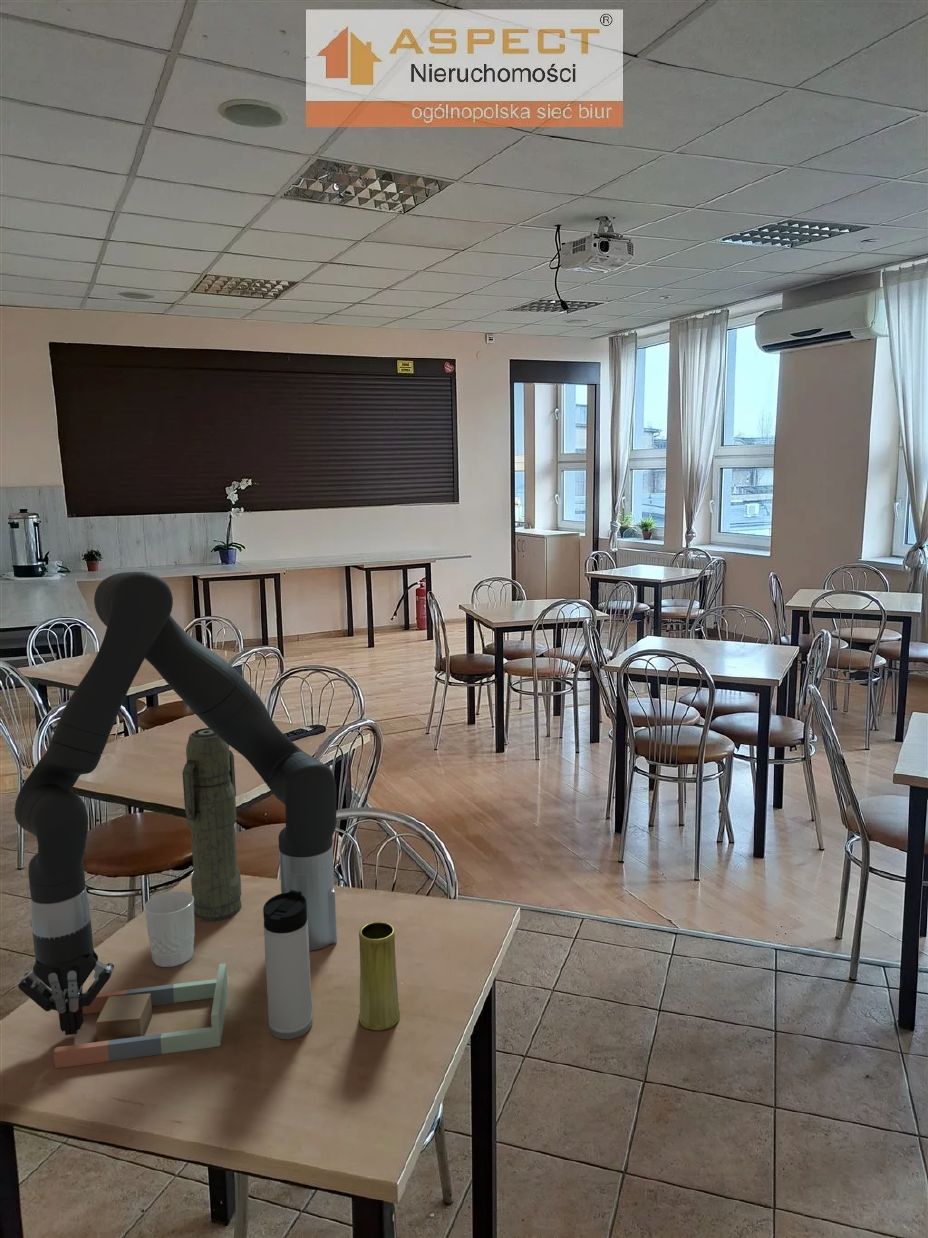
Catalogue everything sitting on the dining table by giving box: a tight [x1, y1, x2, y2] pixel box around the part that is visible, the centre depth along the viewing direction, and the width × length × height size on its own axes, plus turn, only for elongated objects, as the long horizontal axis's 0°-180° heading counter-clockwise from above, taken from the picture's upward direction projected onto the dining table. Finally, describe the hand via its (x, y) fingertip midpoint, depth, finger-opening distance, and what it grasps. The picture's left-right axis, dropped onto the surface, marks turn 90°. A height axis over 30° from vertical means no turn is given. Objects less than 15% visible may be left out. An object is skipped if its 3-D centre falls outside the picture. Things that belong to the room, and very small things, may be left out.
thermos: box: [182, 727, 242, 922], centre depth 154 cm, size 9×12×35 cm
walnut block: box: [95, 993, 153, 1042], centre depth 121 cm, size 6×6×4 cm
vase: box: [358, 920, 401, 1032], centre depth 123 cm, size 6×6×14 cm
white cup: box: [144, 890, 196, 968], centre depth 140 cm, size 8×8×10 cm
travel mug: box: [262, 890, 313, 1040], centre depth 121 cm, size 6×7×20 cm
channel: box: [53, 962, 229, 1069], centre depth 122 cm, size 22×13×5 cm, turn 101°
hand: (72, 1031), depth 120 cm, fingers closed
